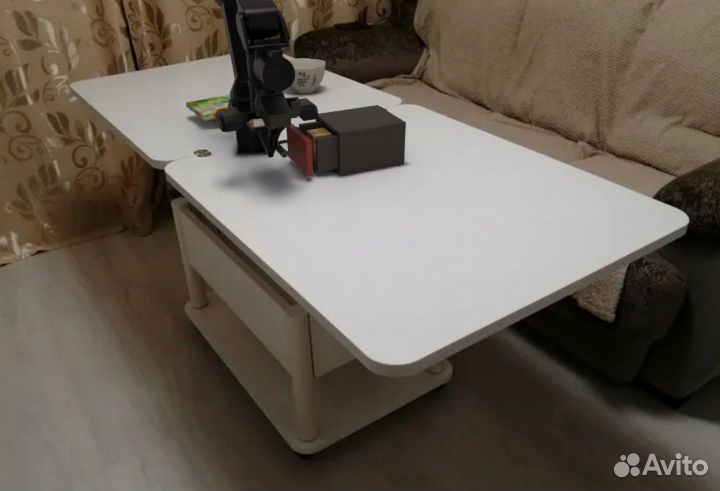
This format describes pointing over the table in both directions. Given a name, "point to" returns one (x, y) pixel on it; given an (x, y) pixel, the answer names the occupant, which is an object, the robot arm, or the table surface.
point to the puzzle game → (208, 106)
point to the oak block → (317, 134)
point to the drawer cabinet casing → (366, 138)
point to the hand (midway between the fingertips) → (270, 156)
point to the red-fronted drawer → (310, 148)
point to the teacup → (307, 74)
